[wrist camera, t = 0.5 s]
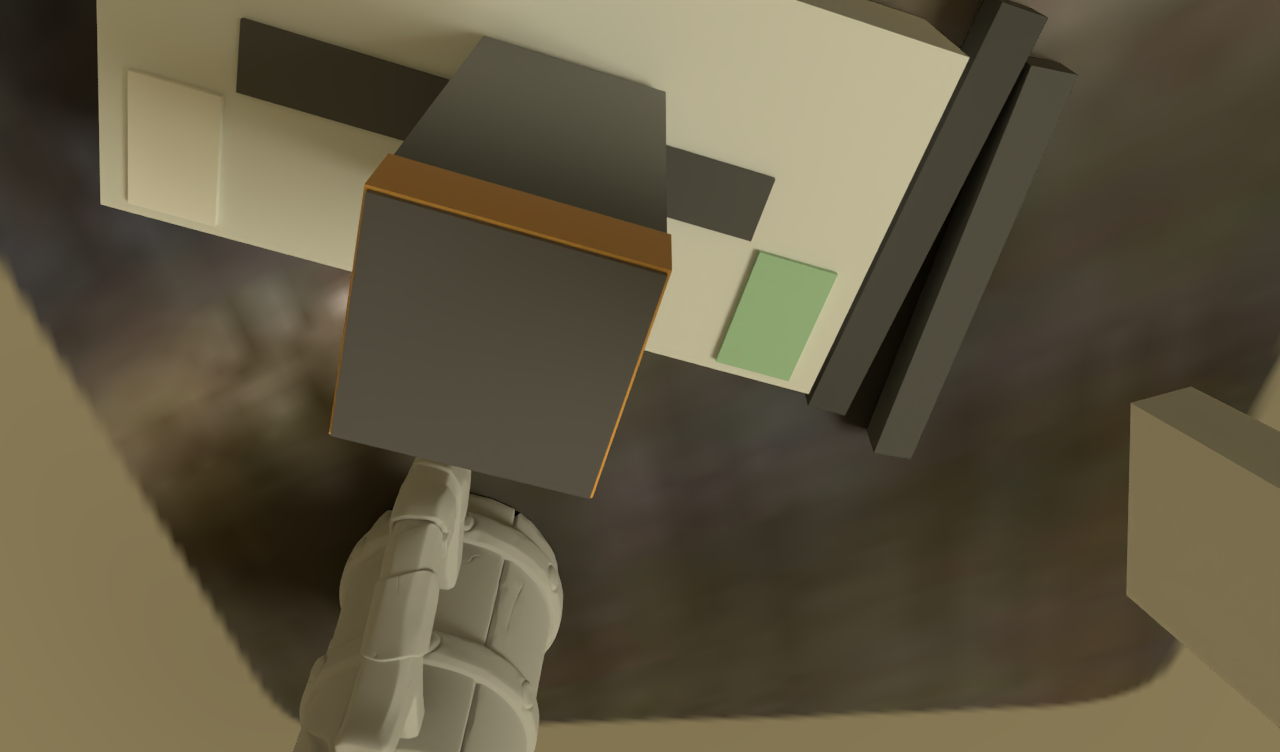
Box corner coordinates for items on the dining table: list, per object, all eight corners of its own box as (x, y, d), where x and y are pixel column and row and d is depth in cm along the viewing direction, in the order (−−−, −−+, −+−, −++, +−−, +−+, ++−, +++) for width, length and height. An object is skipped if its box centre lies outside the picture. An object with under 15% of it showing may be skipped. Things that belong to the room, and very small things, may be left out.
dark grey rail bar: (987, -8, 23) (1002, 2, 22) (1030, 8, 23) (1048, 17, 22) (803, 384, 29) (808, 405, 28) (838, 393, 29) (844, 415, 28)
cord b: (1015, 53, 23) (1031, 65, 22) (1060, 63, 23) (1077, 75, 22) (866, 430, 30) (873, 452, 29) (902, 436, 30) (911, 458, 29)
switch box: (186, -228, 20) (87, -233, 17) (924, 19, 23) (971, 59, 19) (176, 149, 25) (97, 206, 22) (790, 320, 28) (809, 397, 24)
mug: (362, 630, 35) (240, 967, 25) (339, 370, 29) (164, 681, 19) (560, 647, 35) (519, 988, 25) (580, 394, 29) (537, 711, 19)
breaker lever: (481, 32, 19) (361, 187, 12) (668, 90, 20) (671, 273, 12) (447, 209, 21) (326, 437, 14) (616, 256, 22) (591, 502, 14)
